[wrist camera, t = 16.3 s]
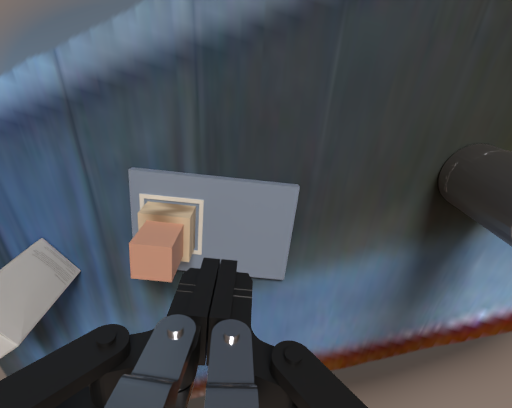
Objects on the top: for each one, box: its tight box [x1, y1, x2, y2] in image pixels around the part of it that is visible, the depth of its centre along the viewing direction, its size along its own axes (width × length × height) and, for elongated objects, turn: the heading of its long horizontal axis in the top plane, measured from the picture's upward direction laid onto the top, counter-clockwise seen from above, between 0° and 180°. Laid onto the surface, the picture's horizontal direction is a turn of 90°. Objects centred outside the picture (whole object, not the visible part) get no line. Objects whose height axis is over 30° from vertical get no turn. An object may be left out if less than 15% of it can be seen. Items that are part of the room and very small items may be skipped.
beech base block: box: [138, 201, 196, 262], centre depth 45 cm, size 7×7×4 cm
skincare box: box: [0, 238, 81, 358], centre depth 44 cm, size 8×7×16 cm
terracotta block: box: [129, 220, 184, 282], centre depth 40 cm, size 5×5×6 cm
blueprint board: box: [129, 167, 300, 280], centre depth 47 cm, size 24×16×1 cm, turn 84°
